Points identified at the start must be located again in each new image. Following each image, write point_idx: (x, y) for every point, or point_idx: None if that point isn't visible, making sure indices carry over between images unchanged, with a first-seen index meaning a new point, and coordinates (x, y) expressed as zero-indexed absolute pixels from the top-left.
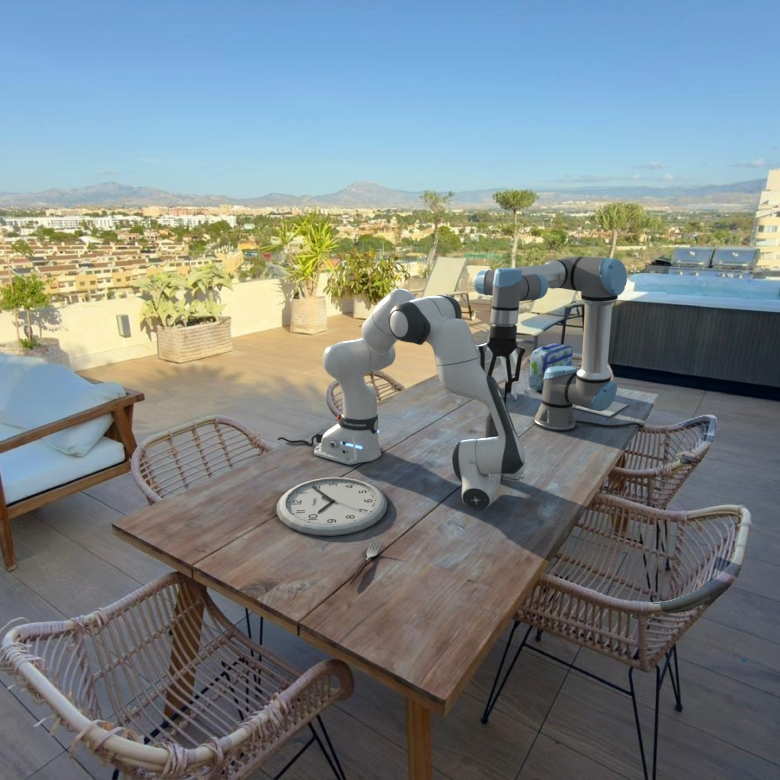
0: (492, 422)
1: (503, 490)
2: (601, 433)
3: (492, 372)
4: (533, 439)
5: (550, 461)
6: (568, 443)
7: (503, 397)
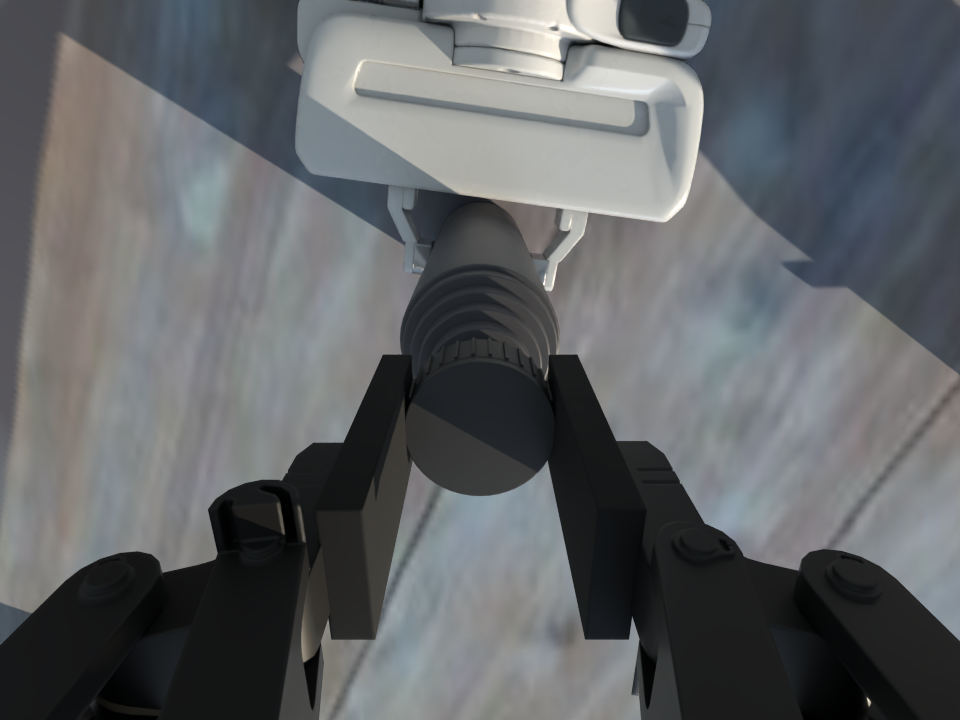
0: (507, 262)
1: None
2: None
3: (677, 696)
4: None
5: (236, 437)
6: None
7: (411, 426)
